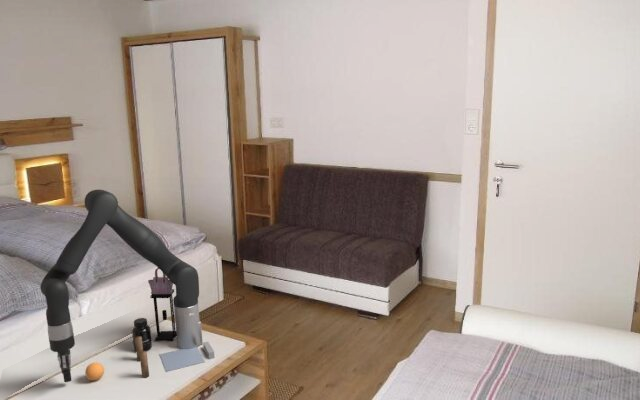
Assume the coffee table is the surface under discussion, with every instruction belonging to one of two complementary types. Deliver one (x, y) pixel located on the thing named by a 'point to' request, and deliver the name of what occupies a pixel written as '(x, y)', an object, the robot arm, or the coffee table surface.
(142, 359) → the post
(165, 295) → the handbag on black stand
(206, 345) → the wall
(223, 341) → the coffee table surface
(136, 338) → the post
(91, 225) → the robot arm
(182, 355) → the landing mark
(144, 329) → the supplement bottle
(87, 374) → the ball
